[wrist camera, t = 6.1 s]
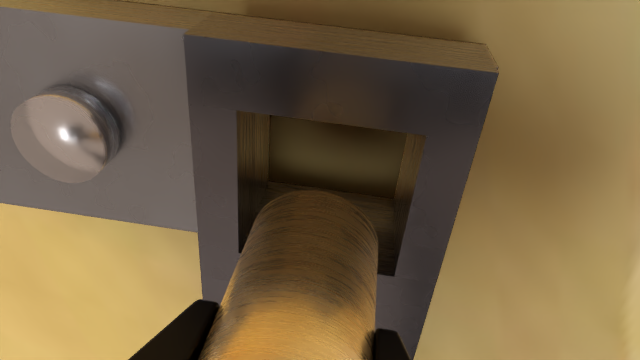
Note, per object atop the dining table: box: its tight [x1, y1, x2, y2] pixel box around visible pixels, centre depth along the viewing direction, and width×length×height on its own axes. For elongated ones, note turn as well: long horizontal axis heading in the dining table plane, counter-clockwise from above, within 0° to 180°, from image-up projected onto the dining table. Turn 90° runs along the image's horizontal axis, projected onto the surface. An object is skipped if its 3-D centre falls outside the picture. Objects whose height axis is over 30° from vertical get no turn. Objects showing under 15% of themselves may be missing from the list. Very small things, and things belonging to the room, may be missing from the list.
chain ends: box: [0, 0, 499, 360], centre depth 16 cm, size 15×20×5 cm
